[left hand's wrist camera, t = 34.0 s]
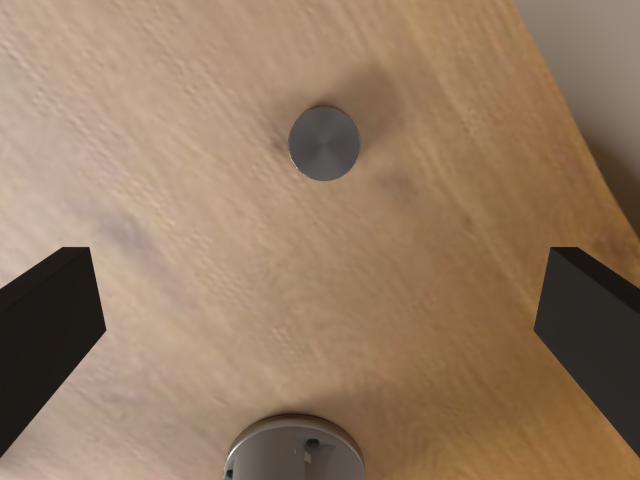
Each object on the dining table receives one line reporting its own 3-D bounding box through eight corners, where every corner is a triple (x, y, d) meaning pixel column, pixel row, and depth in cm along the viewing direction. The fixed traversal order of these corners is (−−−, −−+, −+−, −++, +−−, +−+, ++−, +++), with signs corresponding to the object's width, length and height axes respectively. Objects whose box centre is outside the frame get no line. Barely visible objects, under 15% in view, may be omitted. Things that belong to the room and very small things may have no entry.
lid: (330, 188, 37) (331, 194, 35) (276, 148, 35) (273, 152, 34) (372, 134, 35) (375, 138, 33) (317, 90, 34) (317, 91, 32)
